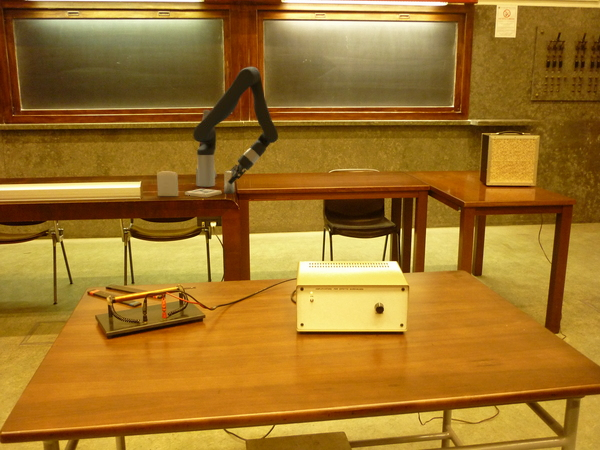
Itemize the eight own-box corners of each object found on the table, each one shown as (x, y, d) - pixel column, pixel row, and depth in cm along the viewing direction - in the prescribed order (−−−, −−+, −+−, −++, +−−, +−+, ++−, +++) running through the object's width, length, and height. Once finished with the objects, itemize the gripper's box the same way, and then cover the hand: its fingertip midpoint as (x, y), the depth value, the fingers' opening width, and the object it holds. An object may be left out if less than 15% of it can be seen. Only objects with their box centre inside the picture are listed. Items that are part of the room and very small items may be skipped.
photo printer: (156, 196, 287) (155, 171, 284) (159, 194, 291) (158, 170, 288) (177, 196, 286) (176, 171, 284) (179, 195, 291) (178, 170, 288)
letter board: (185, 195, 292) (185, 191, 291) (201, 191, 303) (201, 188, 303) (205, 197, 286) (205, 194, 285) (221, 193, 297) (221, 190, 296)
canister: (222, 193, 299) (222, 171, 297) (228, 191, 303) (227, 170, 301) (230, 193, 297) (230, 172, 294) (236, 192, 301) (235, 171, 299)
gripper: (239, 152, 305) (218, 175, 303) (247, 155, 292) (225, 179, 290) (249, 162, 308) (229, 184, 306) (257, 165, 295) (236, 189, 293)
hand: (227, 182), depth 298 cm, fingers open, 8 cm apart
